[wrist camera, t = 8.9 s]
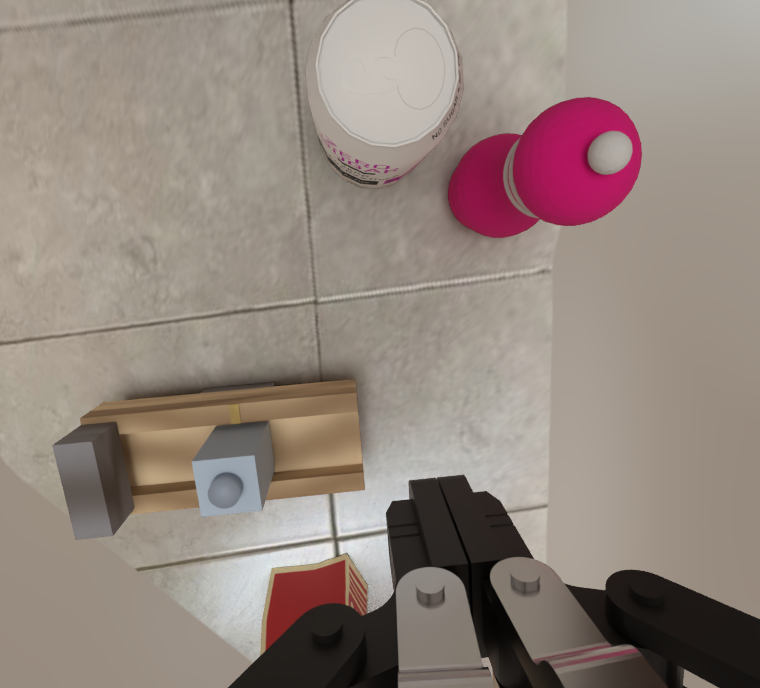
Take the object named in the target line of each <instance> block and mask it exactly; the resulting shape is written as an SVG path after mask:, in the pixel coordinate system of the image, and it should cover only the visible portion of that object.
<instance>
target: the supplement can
mask: <svg viewBox="0 0 760 688" xmlns="http://www.w3.org/2000/svg"><path fill="white" fill-rule="evenodd" d="M305 76H306V84H307V92H308V99H309V105H310V109H311V113H312V116H313V120H314V124H315V127H316V131H317V135H318V138H319V142H320V146H321V149H322V151H323V153H324V155H325V157H326V159H327V161H328V163H329V165H330V167H331V168H332V169H333V170H334V171H335V172H336V173H337V174H338V175H339V176H340V177H341V178H342V179H344V180H346V181H348V182H350V183H352V184H354V185H356V186H359V187H365V188H381V187H384V186H388V185H391V184H395V183H396V182H398V181H399V180H400V179H401V178H403V177H404V176H405V175H407V174H408V173H409V172H410V171H411V170H412V169H413V168H414V167H415V166H416V165H417V164H418V163H419V162H420V161H421V160H422V159H423V158H424V157H425V156H426V155H427V154H428V153H429V152H430V151H431V150H432V149H433V148H434V147H435V146H436V145H437V144H438V143H439V142H440V141H441V140H442V138H443V137H444V135H445V134H446V132H447V131H448V129H449V128H450V126H451V124H452V123H453V121H454V120H455V118H456V116H457V113H458V109H459V105H460V101H461V97H462V93H463V89H464V85H463V69H462V58H461V55H460V53H459V50H458V47H457V45H456V42H455V40H454V37H453V35H452V32H451V30H450V29H449V28H448V27H447V25H446V24H445V23H444V21H443V20H442V19H441V18H440V17H439V16H438V14H437V13H436V12H435V11H434V10H433V9H432V8H431V6H430V5H429V4H427V3H425V2H423V1H421V0H347V1H346V2H345V3H343V4H342V5H341V6H339V7H338V8H337V9H336V10H334V11H333V12H332V13H331V14H329V15H328V16H327V17H326V19H325V20H324V22H323V24H322V25H321V27H320V29H319V30H318V32H317V34H316V35H315V37H314V39H313V41H312V42H311V46H310V51H309V56H308V61H307V66H306V71H305Z"/></svg>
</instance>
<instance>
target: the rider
mask: <svg viewBox="0 0 760 688" xmlns="http://www.w3.org/2000/svg"><path fill="white" fill-rule="evenodd" d="M192 467H193V472H194V478H195V484H196V489H197V495H198V501H199V506H200V512H201V517H206V516H215V515H225V514H234V513H244V512H253V511H262V510H263V506H264V503H265V500H266V497H267V493H268V490H269V487H270V483H271V480H272V477H273V474H274V470H275V464H274V456H273V449H272V441H271V434H270V426H269V421H261V422H250V423H240V424H229V425H219V426H216V427H215V428H214V430H213V431H212V433H211V434H210V435H209V437H208V438H207V440H206V441H205V443H204V444H203V446H202V447H201V449H200V450H199V451H198V453H197V454H196V456H195V457H194V459H193V460H192Z"/></svg>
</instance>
